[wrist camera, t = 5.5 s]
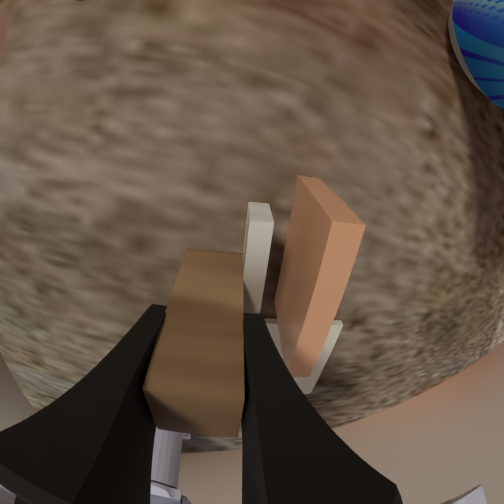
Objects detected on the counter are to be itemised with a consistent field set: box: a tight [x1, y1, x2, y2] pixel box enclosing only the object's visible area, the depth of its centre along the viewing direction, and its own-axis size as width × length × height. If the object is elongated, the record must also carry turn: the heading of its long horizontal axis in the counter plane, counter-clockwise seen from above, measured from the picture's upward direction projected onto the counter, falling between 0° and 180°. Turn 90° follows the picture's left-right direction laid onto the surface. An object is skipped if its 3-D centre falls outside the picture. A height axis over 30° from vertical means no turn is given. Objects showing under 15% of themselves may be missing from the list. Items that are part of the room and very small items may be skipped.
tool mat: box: [264, 318, 343, 394], centre depth 20 cm, size 9×9×1 cm
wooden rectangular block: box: [142, 202, 274, 437], centre depth 9 cm, size 7×3×7 cm, turn 174°
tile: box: [274, 175, 366, 377], centre depth 13 cm, size 8×1×6 cm, turn 174°
